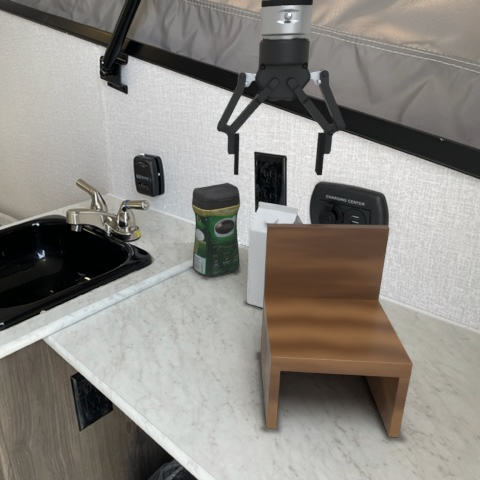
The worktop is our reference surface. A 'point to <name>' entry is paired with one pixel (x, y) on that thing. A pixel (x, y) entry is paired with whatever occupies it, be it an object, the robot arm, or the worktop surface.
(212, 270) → the coffee jar
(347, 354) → the wooden toy chair
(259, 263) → the milk carton
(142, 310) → the worktop surface
